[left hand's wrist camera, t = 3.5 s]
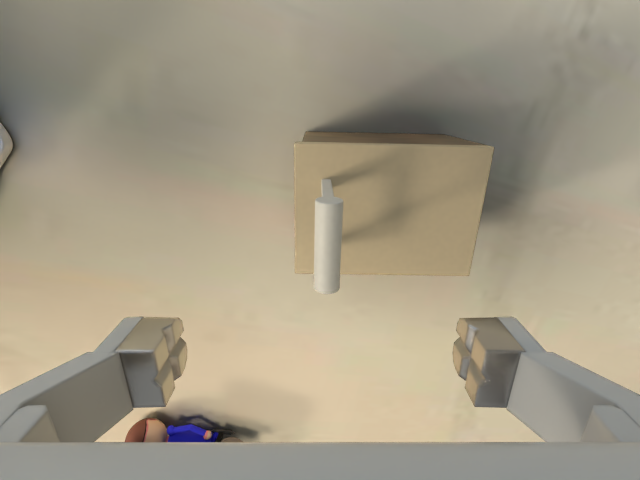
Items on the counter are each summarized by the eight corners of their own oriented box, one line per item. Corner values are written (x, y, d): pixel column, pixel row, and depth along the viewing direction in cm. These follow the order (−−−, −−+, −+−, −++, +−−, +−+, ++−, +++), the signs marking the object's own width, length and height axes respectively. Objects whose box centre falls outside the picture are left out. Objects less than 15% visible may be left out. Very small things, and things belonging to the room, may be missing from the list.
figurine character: (250, 414, 49) (135, 402, 45) (246, 467, 42) (110, 458, 39) (241, 447, 51) (131, 438, 48) (236, 503, 44) (106, 497, 41)
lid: (295, 268, 29) (288, 326, 21) (294, 141, 25) (285, 158, 18) (464, 270, 29) (516, 329, 22) (488, 145, 25) (560, 163, 18)
